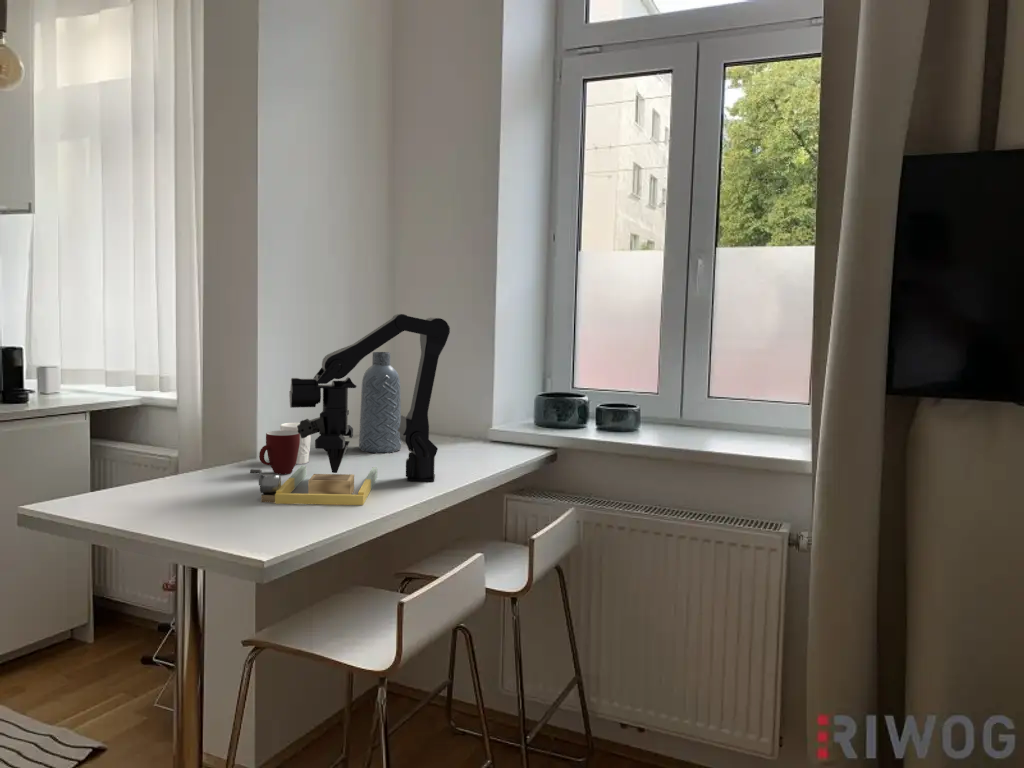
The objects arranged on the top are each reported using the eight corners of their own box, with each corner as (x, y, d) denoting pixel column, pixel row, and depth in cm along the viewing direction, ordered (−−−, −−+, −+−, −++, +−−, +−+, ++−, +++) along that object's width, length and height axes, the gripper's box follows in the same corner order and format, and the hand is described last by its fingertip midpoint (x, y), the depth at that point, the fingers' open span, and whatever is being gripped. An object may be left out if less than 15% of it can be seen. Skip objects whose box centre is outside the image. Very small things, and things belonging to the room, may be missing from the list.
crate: (354, 491, 188) (354, 473, 188) (349, 499, 181) (350, 480, 181) (313, 491, 188) (314, 473, 187) (308, 498, 181) (308, 479, 180)
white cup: (309, 458, 224) (309, 422, 223) (312, 464, 216) (312, 426, 215) (279, 459, 221) (279, 422, 220) (280, 465, 214) (281, 427, 213)
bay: (377, 477, 203) (377, 467, 203) (363, 505, 175) (363, 493, 175) (301, 475, 202) (301, 465, 202) (274, 503, 174) (275, 491, 174)
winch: (281, 498, 179) (281, 467, 179) (277, 502, 175) (277, 471, 175) (253, 497, 179) (253, 467, 178) (248, 502, 175) (248, 471, 174)
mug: (274, 479, 197) (274, 438, 196) (250, 475, 201) (250, 434, 200) (306, 472, 206) (306, 432, 205) (283, 468, 210) (283, 429, 209)
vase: (350, 449, 239) (351, 351, 236) (379, 444, 249) (380, 350, 246) (380, 455, 232) (382, 354, 230) (409, 449, 242) (411, 353, 239)
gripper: (307, 401, 203) (307, 464, 204) (292, 411, 184) (291, 480, 186) (353, 402, 203) (353, 465, 205) (342, 412, 185) (342, 481, 186)
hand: (334, 472), depth 195 cm, fingers closed
